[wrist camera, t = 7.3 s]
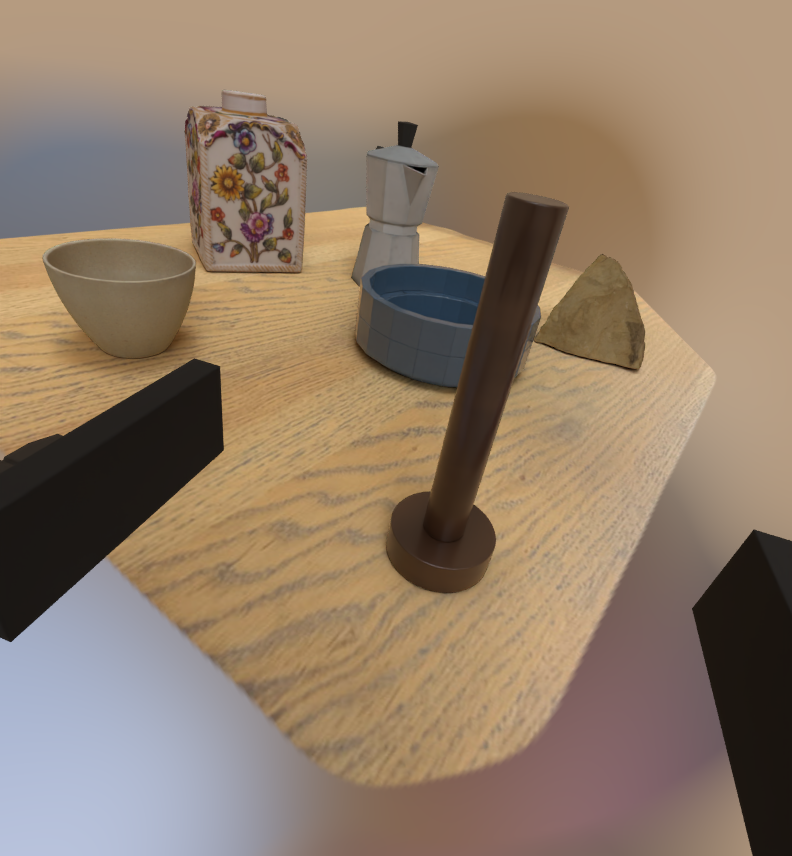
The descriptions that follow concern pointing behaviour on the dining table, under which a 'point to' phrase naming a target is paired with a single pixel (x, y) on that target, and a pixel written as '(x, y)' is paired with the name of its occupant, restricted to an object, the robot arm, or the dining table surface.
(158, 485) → the robot arm
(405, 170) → the coffee maker
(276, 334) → the dining table surface
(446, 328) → the bowl
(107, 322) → the small beige bowl
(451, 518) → the upright rod on disc
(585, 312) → the rock
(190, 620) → the dining table surface
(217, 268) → the decorative jar
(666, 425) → the dining table surface
